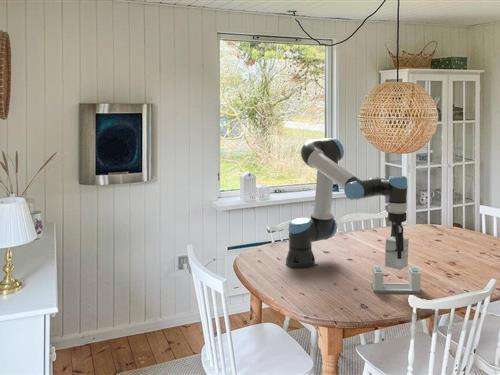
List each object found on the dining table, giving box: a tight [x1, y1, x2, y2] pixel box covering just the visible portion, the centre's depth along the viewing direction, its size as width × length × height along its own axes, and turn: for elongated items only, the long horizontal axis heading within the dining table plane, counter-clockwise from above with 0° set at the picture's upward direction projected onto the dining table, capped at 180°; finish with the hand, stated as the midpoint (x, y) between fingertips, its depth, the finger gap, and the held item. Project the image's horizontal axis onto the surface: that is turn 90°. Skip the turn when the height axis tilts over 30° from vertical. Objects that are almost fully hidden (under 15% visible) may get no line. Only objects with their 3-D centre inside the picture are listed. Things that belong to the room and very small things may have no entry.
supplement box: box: [384, 236, 410, 271], centre depth 204 cm, size 7×7×13 cm
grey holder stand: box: [370, 265, 423, 295], centre depth 206 cm, size 20×9×9 cm, turn 83°
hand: (396, 261), depth 205 cm, fingers closed on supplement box, 10 cm apart
